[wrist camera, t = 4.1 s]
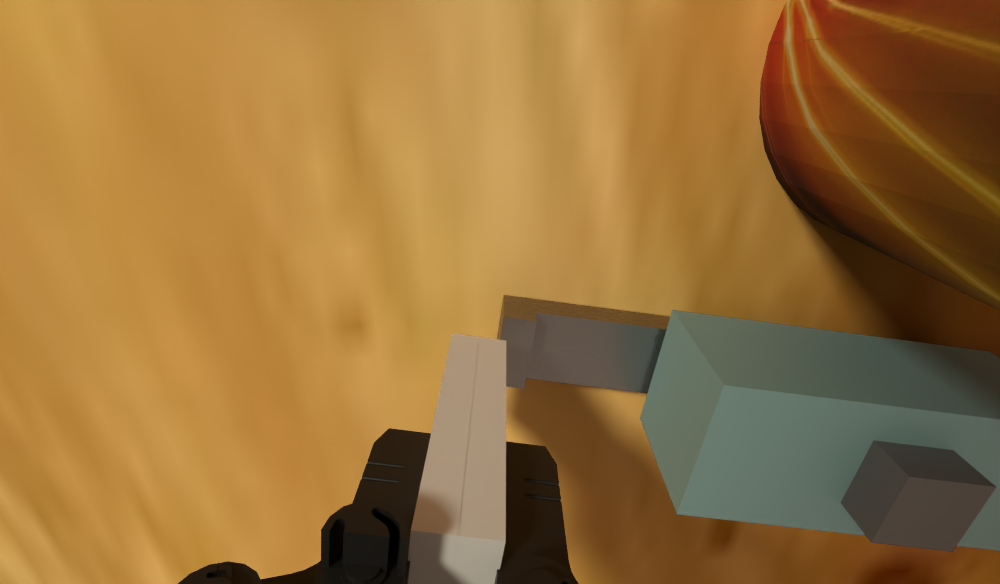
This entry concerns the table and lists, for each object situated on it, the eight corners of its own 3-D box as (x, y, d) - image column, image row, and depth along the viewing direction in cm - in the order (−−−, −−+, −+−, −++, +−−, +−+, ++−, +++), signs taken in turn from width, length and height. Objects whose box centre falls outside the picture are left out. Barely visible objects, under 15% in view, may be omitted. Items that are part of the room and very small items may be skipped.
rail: (503, 295, 17) (503, 316, 15) (1246, 391, 18) (1313, 420, 16) (494, 358, 18) (493, 384, 16) (1200, 446, 19) (1259, 478, 17)
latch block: (672, 310, 15) (746, 417, 11) (989, 351, 16) (1196, 472, 11) (640, 418, 17) (691, 554, 12) (929, 453, 17) (1087, 597, 13)
